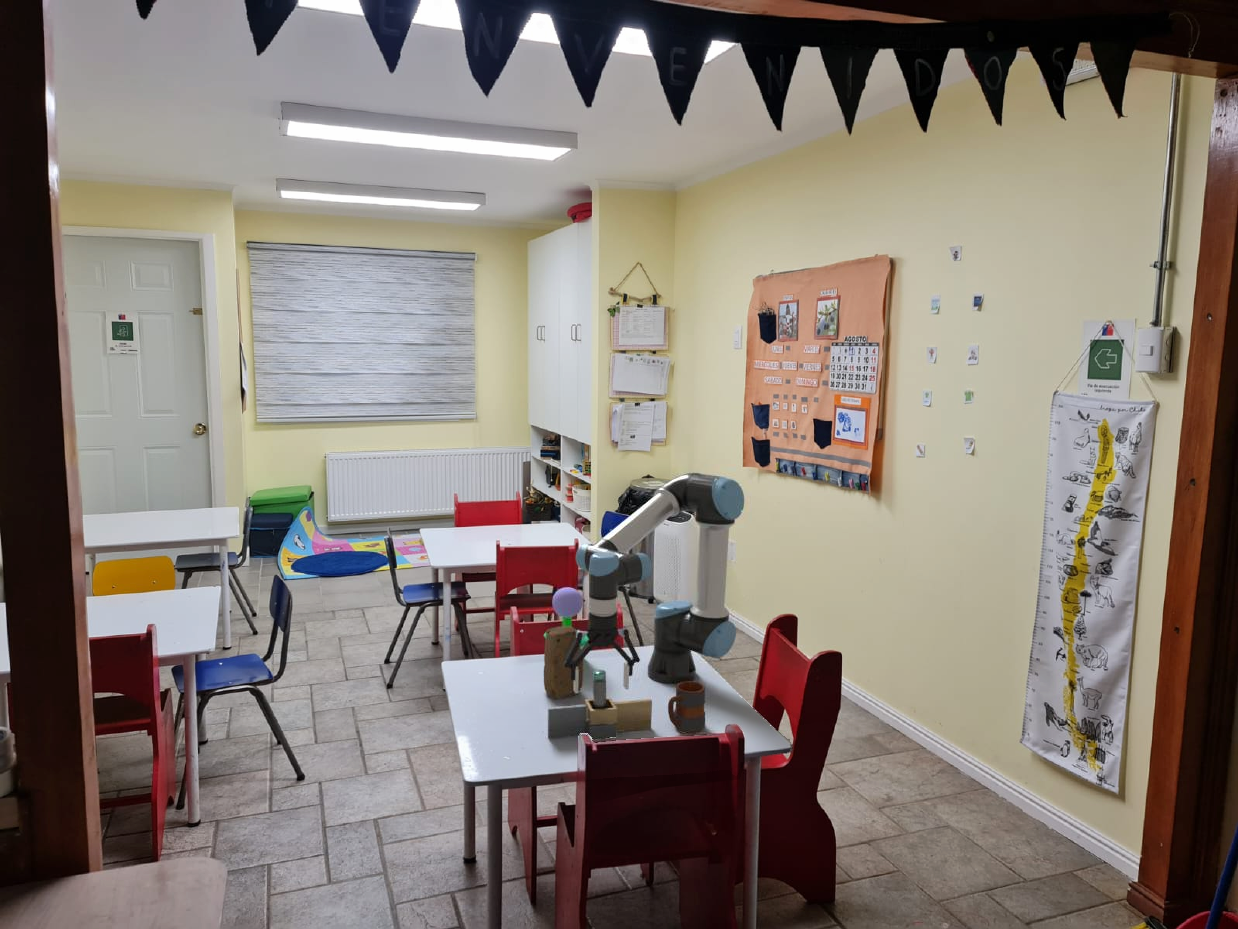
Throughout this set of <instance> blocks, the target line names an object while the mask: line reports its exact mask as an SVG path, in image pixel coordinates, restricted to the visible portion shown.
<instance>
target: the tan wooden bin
mask: <svg viewBox="0 0 1238 929" xmlns="http://www.w3.org/2000/svg"><path fill="white" fill-rule="evenodd" d="M584 705H586V718H587V720H588V722H589V724H590V725H599V724H610V723H616V724H617V732H626V731H637V730H649V729H652V718H653V717H652V714H653V712H652V710H653V701H652V699H638V700H637V699H636V700H623V701H613V699H612V698H611V697H606V708H605V709H594V705H593V698H591V699H590V698H589V699H584Z"/></svg>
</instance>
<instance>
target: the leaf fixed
mask: <svg viewBox="0 0 1238 929" xmlns="http://www.w3.org/2000/svg"><path fill="white" fill-rule="evenodd" d="M617 732H618V731H617V724H616V723H610V724H599V725H590V724H589V722H588V720H587V718H586V705H585V704H577V705H573V704H572V705H564V706H552V707H551V706H550V707H548V708H547V738H548V739H549V740H550V739H561V738H573V737H579V736H578V735H579V734H580V733H588V734H589V735H590V736H591V737H592V739H593V740H592V741H597V740H607V739H606V738H610V737H616V738H617ZM610 739H611V738H610Z"/></svg>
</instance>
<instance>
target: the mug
mask: <svg viewBox="0 0 1238 929" xmlns="http://www.w3.org/2000/svg"><path fill="white" fill-rule="evenodd" d="M705 704H706V688H705V686H704V685H703V684H702V683H700V682H699V681H698V682H697V681H693V680H691V681H686V682H681V683H677V685H676V689H675V696H672V697H671V698H669V700H668V704H667V711H668V712H667V713H668V717H669V720H670V722H671V724H672V725H673V726H674V728H675V729H676V731H679V732H681V733H683V732H684V733H683V734H698V733H700V732H702V731H703V730H704V729H705V727H706V712H705ZM674 705H675V707H674ZM674 708H675V709H674Z"/></svg>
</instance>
